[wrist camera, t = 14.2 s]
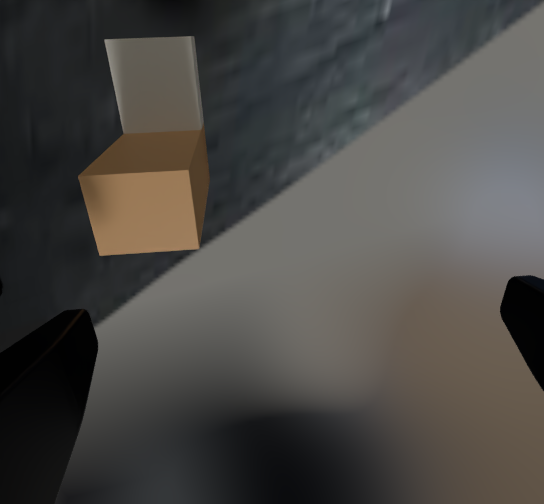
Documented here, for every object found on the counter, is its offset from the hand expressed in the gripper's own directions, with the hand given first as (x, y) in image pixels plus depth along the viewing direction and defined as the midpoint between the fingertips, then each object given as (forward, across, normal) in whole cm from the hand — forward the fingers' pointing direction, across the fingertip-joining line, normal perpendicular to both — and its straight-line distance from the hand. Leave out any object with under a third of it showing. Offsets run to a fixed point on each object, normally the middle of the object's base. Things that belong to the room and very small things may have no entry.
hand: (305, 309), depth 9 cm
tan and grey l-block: (+7, +3, -3) cm, 9 cm away
